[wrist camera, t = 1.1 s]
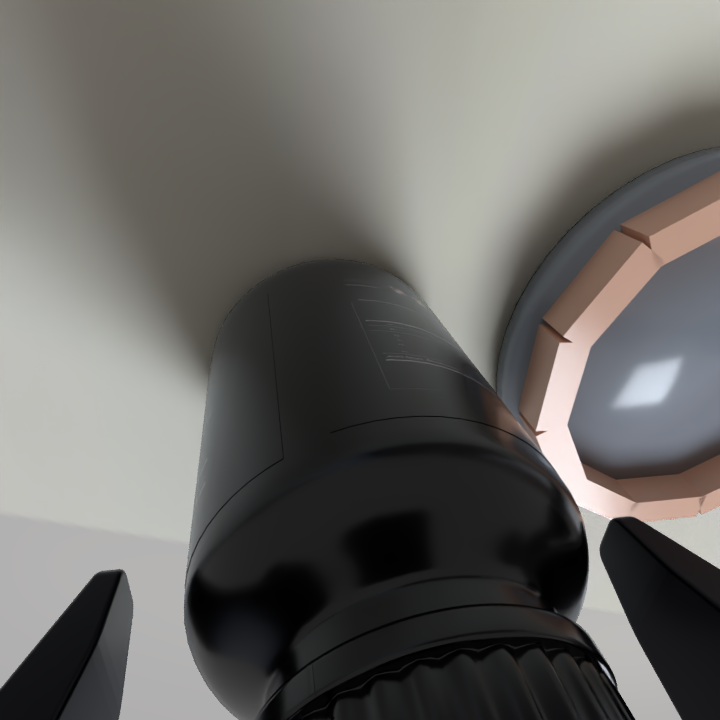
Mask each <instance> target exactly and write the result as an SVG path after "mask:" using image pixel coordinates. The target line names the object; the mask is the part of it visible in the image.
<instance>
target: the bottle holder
mask: <svg viewBox="0 0 720 720" xmlns="http://www.w3.org/2000/svg"><path fill="white" fill-rule="evenodd" d="M497 395H498V396H499V398H500V399H501V400H502V401H503V403H504V404H505V405H506V406H507V408H508V409H509V410H510V412H511V413H512V414H513V415H514V417H515V418H516V419H517V421H518V422H519V423H520V424H521V426H522V427H523V428H524V430H525V431H526V432H527V433H528V435H529V436H530V437H531V439H532V440H533V441H534V442H535V444H536V445H537V446H538V448H539V449H540V450H541V451H542V453H543V454H544V455H545V457H546V458H547V459H548V461H549V462H550V463H551V465H552V466H553V467H554V469H555V470H556V472H557V473H558V475H559V476H560V478H561V479H562V480H563V482H564V483H565V485H566V486H567V488H568V489H569V491H570V492H571V494H572V496H573V498H574V500H575V502H576V504H577V505H578V506H581V507H583V508H585V509H588V510H590V511H592V512H594V513H597V514H599V515H601V516H603V517H606V518H608V519H610V520H612V519H613V518H616V517H626V516H632V517H635V518H637V519H639V520H640V521H642V522H648V521H657V520H667V519H676V518H685V517H694V516H697V514H698V512H699V513H700V514H701V515H702V514H704V513H706V512H708V511H710V510H713V509H715V508H717V507H719V506H720V147H715V148H710V149H705V150H700V151H697V152H694V153H691V154H688V155H685V156H682V157H679V158H676V159H673V160H671V161H669V162H667V163H665V164H663V165H661V166H658V167H656V168H654V169H652V170H650V171H648V172H646V173H644V174H642V175H641V176H639V177H637V178H636V179H634V180H633V181H631V182H629V183H628V184H626V185H624V186H623V187H621V188H620V189H618V190H616V191H615V192H614V193H613V194H611V195H610V196H609V197H607V198H606V199H605V200H603V201H602V202H601V203H600V204H598V205H597V206H596V207H594V208H593V209H592V210H591V211H590V212H589V213H588V214H586V215H585V216H584V217H583V218H582V219H581V220H580V221H579V222H578V223H577V224H576V225H575V226H574V227H573V228H572V229H571V230H570V231H568V233H567V234H566V235H565V236H564V237H563V238H562V239H561V241H560V242H559V243H558V244H557V245H556V246H555V248H554V249H553V250H552V251H551V252H550V253H549V254H548V256H547V257H546V259H545V260H544V261H543V263H542V264H541V266H540V267H539V269H538V270H537V271H536V273H535V274H534V276H533V277H532V278H531V280H530V282H529V283H528V285H527V287H526V289H525V291H524V293H523V294H522V296H521V298H520V300H519V302H518V303H517V305H516V308H515V310H514V312H513V315H512V317H511V320H510V322H509V324H508V327H507V329H506V333H505V336H504V340H503V343H502V347H501V351H500V355H499V362H498V369H497Z"/></svg>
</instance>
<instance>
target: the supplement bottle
mask: <svg viewBox="0 0 720 720" xmlns="http://www.w3.org/2000/svg"><path fill="white" fill-rule="evenodd" d="M588 573H589V555H588V543H587V537H586V531H585V526H584V522H583V519H582V516H581V513H580V511H579V508H578V506H577V504H576V502H575V500H574V498H573V496H572V494H571V492H570V491H569V489H568V488H567V486H566V485H565V483H564V482H563V480H562V479H561V478H560V476H559V475H558V473H557V472H556V470H555V469H554V467H553V466H552V465H551V463H550V462H549V461H548V459H547V458H546V457H545V455H544V454H543V453H542V451H541V450H540V449H539V448H538V446H537V445H536V444H535V442H534V441H533V440H532V439H531V437H530V436H529V435H528V433H527V432H526V431H525V430H524V428H523V427H522V426H521V424H520V423H519V422H518V421H517V419H516V418H515V417H514V415H513V414H512V413H511V412H510V410H509V409H508V408H507V406H506V405H505V404H504V403H503V401H502V400H501V399H500V398H499V396H498V395H497V394H496V392H495V391H494V390H493V389H492V387H491V386H490V385H489V383H488V382H487V381H486V380H485V378H484V377H483V376H482V374H481V373H480V372H479V371H478V369H477V368H476V367H475V365H474V364H473V363H472V362H471V360H470V359H469V358H468V356H467V355H466V354H465V353H464V351H463V350H462V349H461V347H460V346H459V345H458V344H457V342H456V341H455V340H454V338H453V337H452V336H451V335H450V333H449V332H448V331H447V329H446V328H445V327H444V326H443V324H442V323H441V322H440V320H439V319H438V318H437V317H436V315H435V314H434V313H433V312H432V310H431V309H430V308H429V307H428V306H427V304H426V303H425V302H424V301H423V300H422V299H421V298H420V296H419V295H418V294H417V293H416V292H415V291H414V290H413V289H412V288H410V287H409V286H408V285H407V284H406V283H405V282H403V281H402V280H400V279H399V278H397V277H396V276H394V275H392V274H391V273H389V272H387V271H385V270H383V269H380V268H378V267H375V266H372V265H369V264H365V263H361V262H356V261H350V260H318V261H311V262H306V263H302V264H298V265H295V266H292V267H289V268H287V269H284V270H282V271H279V272H277V273H275V274H273V275H272V276H270V277H268V278H266V279H265V280H263V281H262V282H260V283H259V284H257V285H256V286H255V287H254V288H252V289H251V290H250V291H249V292H248V293H247V294H246V295H245V296H243V297H242V298H241V299H240V300H239V302H238V303H237V304H236V305H235V306H234V308H233V309H232V310H231V312H230V313H229V315H228V316H227V318H226V319H225V321H224V323H223V325H222V327H221V329H220V331H219V334H218V337H217V339H216V342H215V346H214V350H213V354H212V361H211V368H210V373H209V381H208V389H207V398H206V406H205V415H204V424H203V432H202V441H201V449H200V458H199V467H198V475H197V484H196V492H195V501H194V510H193V518H192V527H191V535H190V544H189V553H188V562H187V571H186V580H185V598H184V624H185V629H186V635H187V641H188V645H189V647H190V650H191V653H192V656H193V659H194V662H195V664H196V666H197V668H198V670H199V672H200V673H201V675H202V677H203V679H204V681H205V682H206V684H207V686H208V687H209V689H210V690H211V691H212V693H213V694H214V695H215V697H216V698H217V699H218V700H219V702H220V703H221V704H222V705H223V706H224V707H225V708H226V709H227V710H228V711H229V712H230V713H231V714H233V715H234V716H235V717H236V718H238V719H239V720H635V718H634V717H633V715H632V713H631V712H630V710H629V708H628V707H627V705H626V703H625V702H624V700H623V698H622V697H621V695H620V694H619V692H618V689H617V683H616V679H615V677H614V674H613V672H612V670H611V668H610V667H609V665H608V663H607V662H606V660H605V658H604V657H603V655H602V654H601V652H600V650H599V649H598V647H597V646H596V644H595V642H594V641H593V640H592V638H591V637H590V635H589V634H588V633H587V632H586V631H585V630H584V629H583V628H582V627H581V626H580V625H578V624H577V623H576V621H577V618H578V616H579V614H580V611H581V609H582V606H583V602H584V598H585V594H586V590H587V582H588Z"/></svg>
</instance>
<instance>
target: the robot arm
mask: <svg viewBox="0 0 720 720" xmlns="http://www.w3.org/2000/svg"><path fill="white" fill-rule="evenodd" d="M600 556H601V559H602V562H603V564H604V566H605V569H606V571H607V573H608V575H609V578H610V580H611V582H612V584H613V587H614V589H615V591H616V594H617V596H618V598H619V600H620V603H621V605H622V607H623V609H624V612H625V614H626V616H627V618H628V621H629V623H630V625H631V627H632V629H633V631H634V633H635V635H636V637H637V639H638V641H639V643H640V645H641V647H642V648H643V650H644V652H645V654H646V656H647V657H648V659H649V661H650V663H651V665H652V667H653V668H654V670H655V672H656V674H657V676H658V677H659V679H660V681H661V683H662V685H663V686H664V688H665V690H666V692H667V694H668V695H669V697H670V699H671V701H672V702H673V704H674V706H675V708H676V710H677V712H678V713H679V715H680V717H681V719H682V720H720V569H718V568H717V567H715V566H714V565H712V564H710V563H709V562H707V561H705V560H704V559H702V558H701V557H699V556H697V555H696V554H694V553H692V552H691V551H689V550H688V549H686V548H684V547H683V546H681V545H679V544H678V543H676V542H675V541H673V540H671V539H670V538H668V537H666V536H665V535H663V534H662V533H660V532H658V531H657V530H655V529H653V528H652V527H650V526H649V525H647V524H645V523H644V522H642V521H640V520H639V519H637V518H635V517H632V516H626V517H616V518H613V519H612V520H610V522H609V524H608V527H607V529H606V532H605V534H604V537H603V539H602V542H601V544H600ZM132 618H133V600H132V595H131V591H130V588H129V583H128V579H127V576H126V573H125V572H124V571H123V570H121V569H117V570H107V571H101V572H98V573H97V574H95V575H94V576H93V578H92V579H91V580H90V581H89V582H88V584H87V585H86V586H85V587H84V588H83V590H82V591H81V592H80V593H79V594H78V596H77V597H76V598H75V599H74V600H73V602H72V603H71V604H70V605H69V606H68V608H67V609H66V610H65V611H64V613H63V614H62V615H61V616H60V617H59V619H58V620H57V621H56V622H55V623H54V625H53V626H52V627H51V628H50V629H49V631H48V632H47V633H46V634H45V636H44V637H43V638H42V639H41V640H40V642H39V643H38V644H37V645H36V646H35V648H34V649H33V650H32V651H31V652H30V654H29V655H28V656H27V657H26V658H25V660H24V661H23V662H22V664H21V665H20V666H19V667H18V668H17V670H16V671H15V672H14V673H13V674H12V675H11V677H10V678H9V679H8V680H7V682H6V683H5V684H4V685H3V686H2V688H1V689H0V720H118V719H119V715H120V709H121V702H122V696H123V687H124V680H125V672H126V664H127V656H128V649H129V640H130V633H131V625H132Z"/></svg>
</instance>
